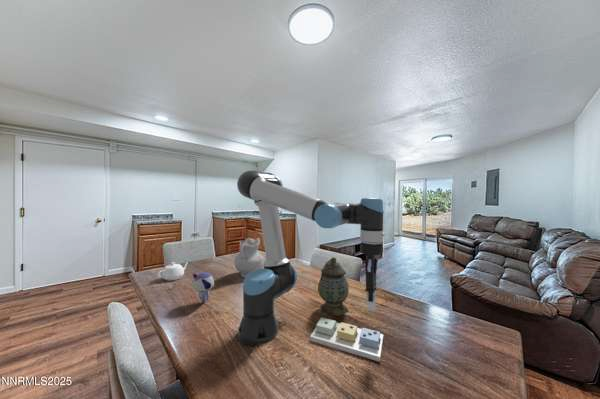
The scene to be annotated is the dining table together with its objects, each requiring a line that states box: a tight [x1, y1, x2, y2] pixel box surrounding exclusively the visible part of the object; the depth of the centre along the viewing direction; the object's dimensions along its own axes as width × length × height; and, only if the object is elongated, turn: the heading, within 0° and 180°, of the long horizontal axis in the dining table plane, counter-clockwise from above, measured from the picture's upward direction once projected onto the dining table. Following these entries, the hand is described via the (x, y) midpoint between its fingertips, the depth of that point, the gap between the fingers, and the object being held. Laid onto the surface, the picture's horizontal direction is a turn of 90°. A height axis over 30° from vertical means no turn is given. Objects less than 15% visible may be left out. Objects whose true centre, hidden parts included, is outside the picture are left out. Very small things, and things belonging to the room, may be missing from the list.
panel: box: [309, 322, 384, 363], centre depth 82 cm, size 24×13×2 cm, turn 65°
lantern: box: [317, 257, 350, 316], centre depth 105 cm, size 14×14×25 cm
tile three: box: [360, 327, 381, 349], centre depth 79 cm, size 6×6×3 cm
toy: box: [192, 271, 215, 304], centre depth 111 cm, size 11×10×15 cm
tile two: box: [337, 322, 358, 342], centre depth 82 cm, size 6×6×3 cm
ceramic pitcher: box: [233, 237, 265, 278], centre depth 151 cm, size 22×20×25 cm
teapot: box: [157, 261, 189, 282], centre depth 144 cm, size 20×12×10 cm, turn 150°
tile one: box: [315, 316, 337, 336], centre depth 85 cm, size 6×6×3 cm
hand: (371, 309), depth 78 cm, fingers closed
